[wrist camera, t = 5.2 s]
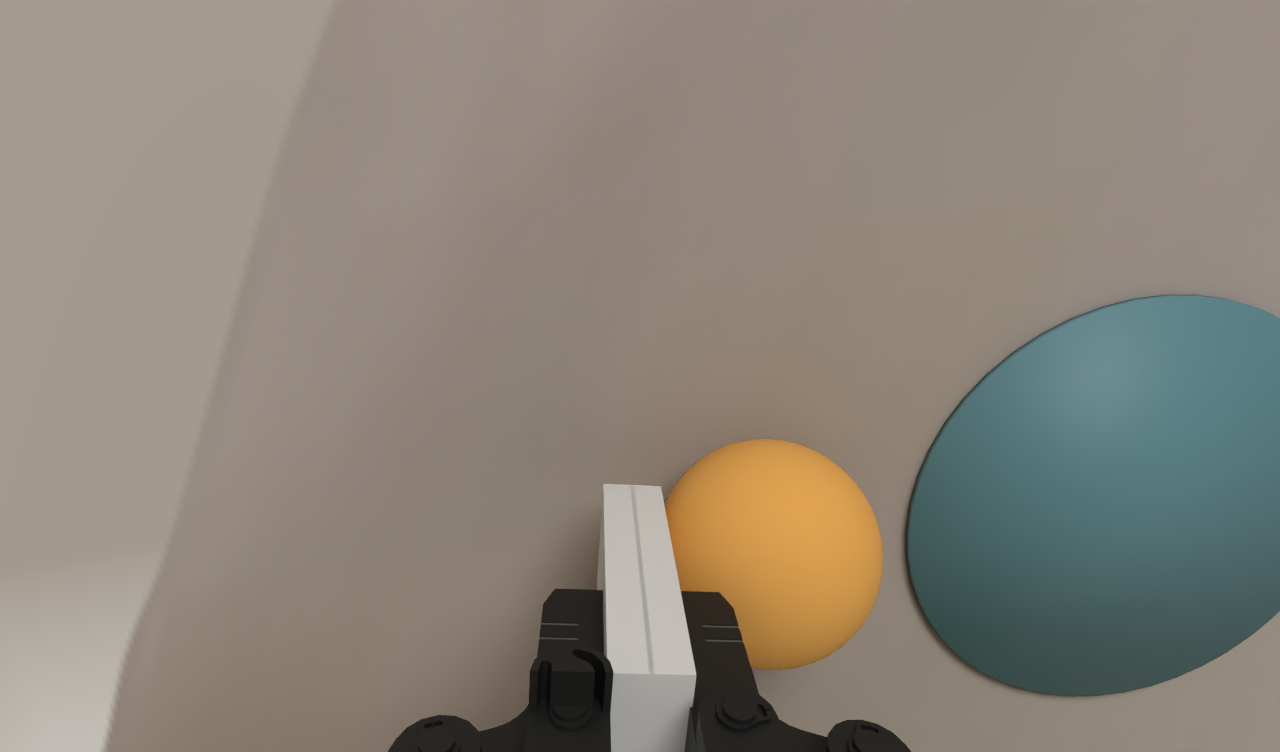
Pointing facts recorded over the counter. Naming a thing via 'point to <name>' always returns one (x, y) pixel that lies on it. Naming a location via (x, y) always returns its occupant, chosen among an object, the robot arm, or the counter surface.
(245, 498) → the counter surface
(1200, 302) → the teal ellipsoid
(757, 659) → the ball
